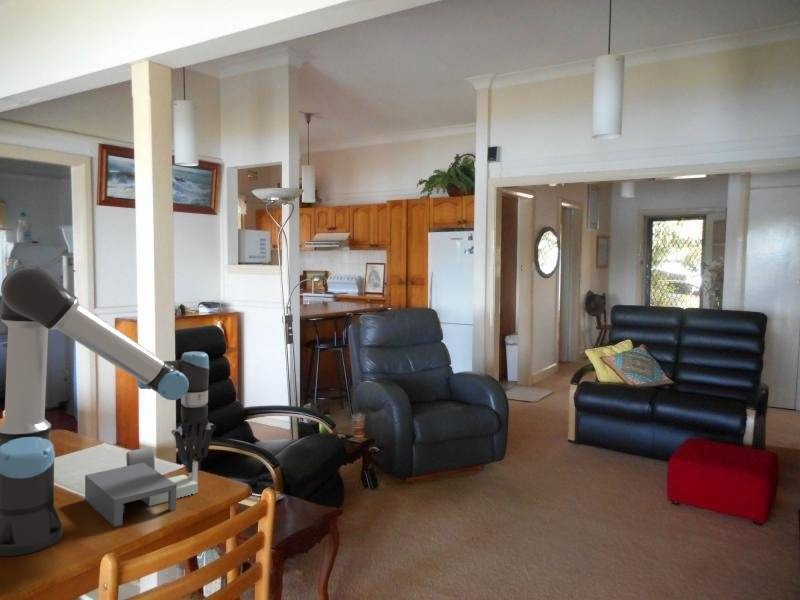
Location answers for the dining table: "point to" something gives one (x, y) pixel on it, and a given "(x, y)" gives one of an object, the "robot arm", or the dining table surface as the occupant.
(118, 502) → the low shelf
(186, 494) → the ribbed white block
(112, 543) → the dining table surface
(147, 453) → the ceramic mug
